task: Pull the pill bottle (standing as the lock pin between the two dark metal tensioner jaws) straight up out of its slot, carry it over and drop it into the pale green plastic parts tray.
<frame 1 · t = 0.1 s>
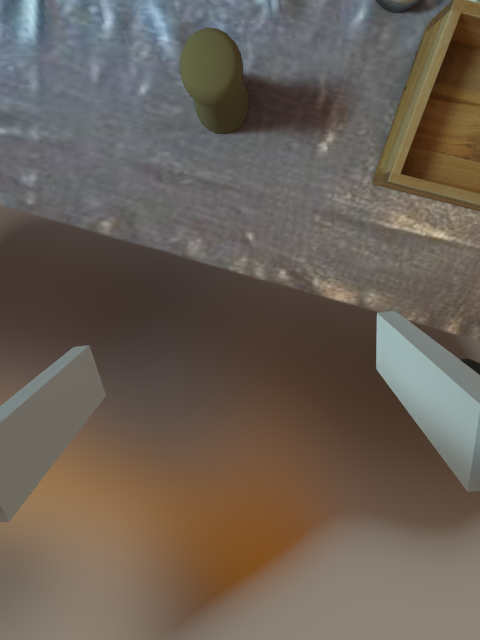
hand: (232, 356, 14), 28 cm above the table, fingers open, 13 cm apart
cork: (222, 103, 35), on the table
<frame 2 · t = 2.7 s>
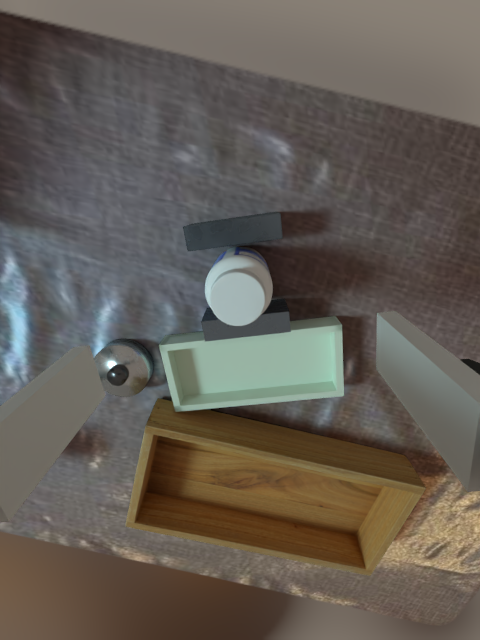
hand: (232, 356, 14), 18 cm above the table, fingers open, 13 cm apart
tray: (267, 468, 41), on the table
pulley: (127, 363, 35), on the table
tensioner jaws: (241, 272, 31), on the table
parts tray: (253, 359, 34), on the table
pill bottle: (241, 272, 31), on the table
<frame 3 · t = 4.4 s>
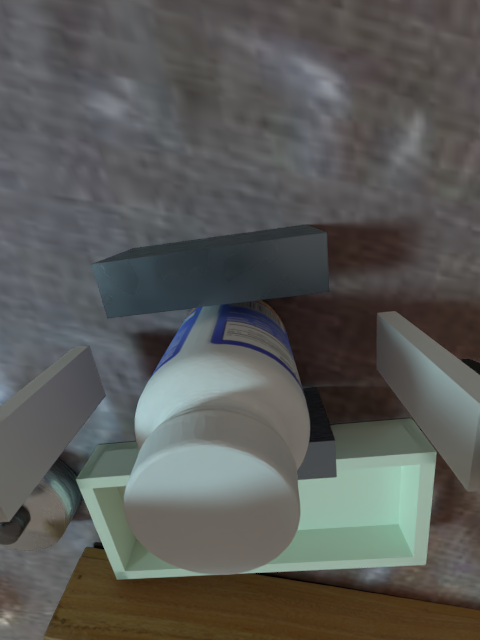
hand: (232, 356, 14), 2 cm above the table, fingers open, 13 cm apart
tray: (277, 628, 25), on the table
pulley: (35, 486, 20), on the table
tensioner jaws: (234, 341, 16), on the table
parts tray: (256, 484, 19), on the table
pill bottle: (234, 339, 16), on the table
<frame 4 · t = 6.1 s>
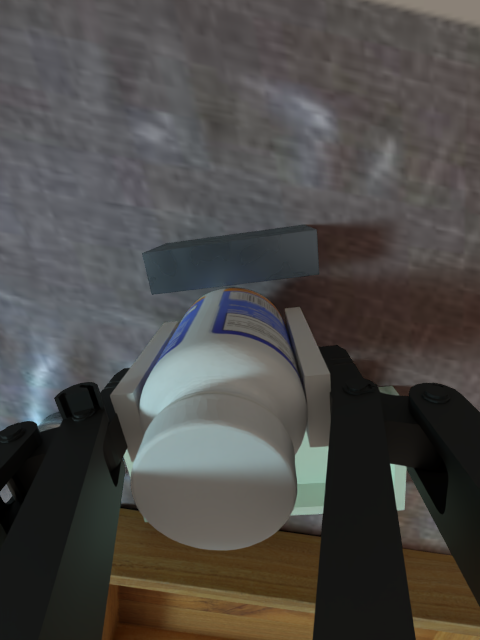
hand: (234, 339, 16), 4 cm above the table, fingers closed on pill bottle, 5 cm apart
tray: (280, 581, 29), on the table
tensioner jaws: (245, 319, 20), on the table
parts tray: (262, 444, 23), on the table
pill bottle: (234, 332, 17), point 3 cm above the table, touching gripper
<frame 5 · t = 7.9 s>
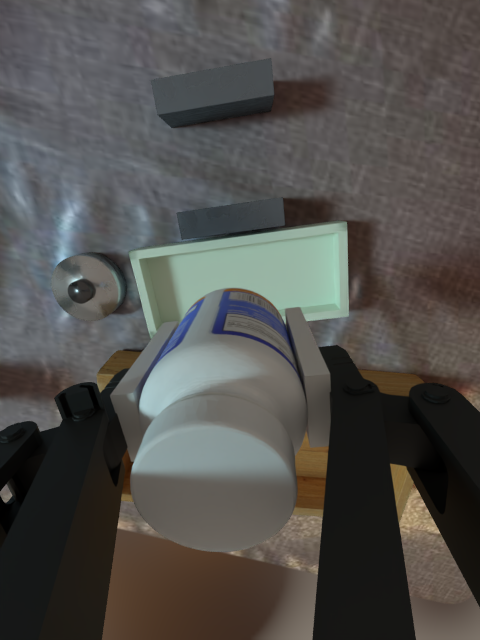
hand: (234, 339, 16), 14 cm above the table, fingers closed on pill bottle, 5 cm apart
tray: (259, 417, 36), on the table
pulley: (95, 284, 30), on the table
tensioner jaws: (226, 163, 26), on the table
parts tray: (242, 278, 29), on the table
pill bottle: (234, 333, 17), point 14 cm above the table, touching gripper
when the fingers open (3 cm above the table, at t = 10.2 s): pill bottle drops 2 cm, resting on parts tray.
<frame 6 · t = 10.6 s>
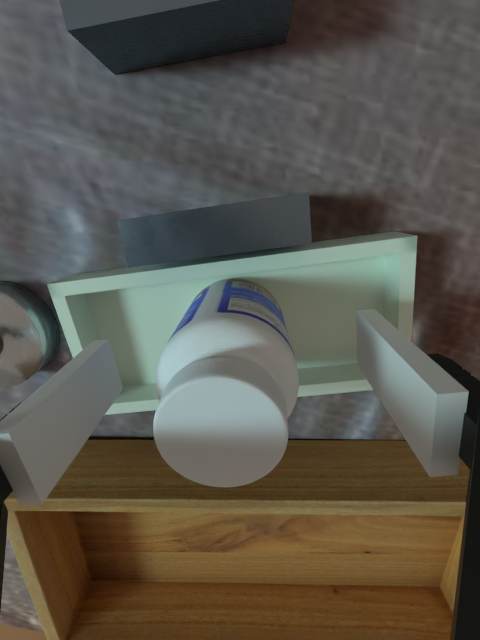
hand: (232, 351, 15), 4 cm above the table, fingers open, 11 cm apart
tray: (263, 508, 25), on the table
pulley: (11, 328, 20), on the table
tensioner jaws: (209, 137, 16), on the table
parts tray: (236, 320, 19), on the table
pill bottle: (236, 320, 18), resting on parts tray
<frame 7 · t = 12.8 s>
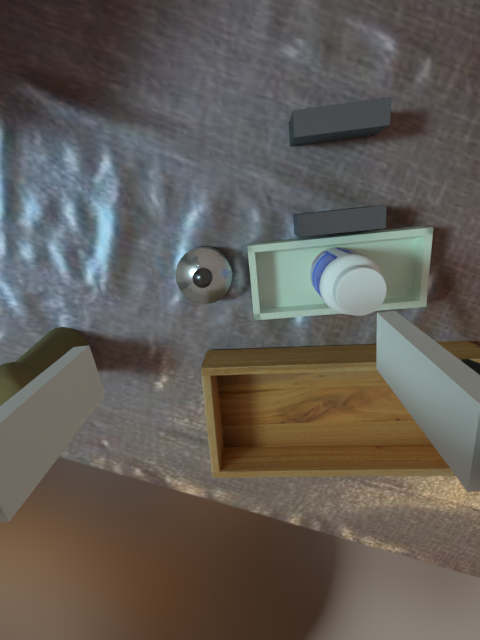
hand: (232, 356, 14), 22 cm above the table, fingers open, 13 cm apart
tray: (331, 396, 41), on the table
pulley: (206, 273, 36), on the table
tensioner jaws: (331, 176, 32), on the table
parts tray: (332, 272, 35), on the table
pill bottle: (333, 271, 34), resting on parts tray
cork: (68, 348, 40), on the table
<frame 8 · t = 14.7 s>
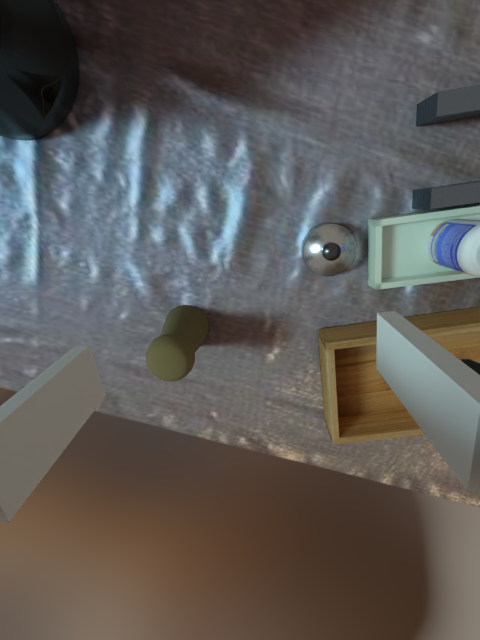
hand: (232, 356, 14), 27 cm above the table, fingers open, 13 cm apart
tray: (430, 360, 44), on the table
pulley: (326, 248, 39), on the table
tensioner jaws: (452, 153, 35), on the table
parts tray: (444, 243, 38), on the table
pill bottle: (446, 241, 37), resting on parts tray
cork: (187, 325, 43), on the table
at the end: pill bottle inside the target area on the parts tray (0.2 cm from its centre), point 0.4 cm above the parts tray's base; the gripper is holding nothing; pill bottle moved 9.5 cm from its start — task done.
